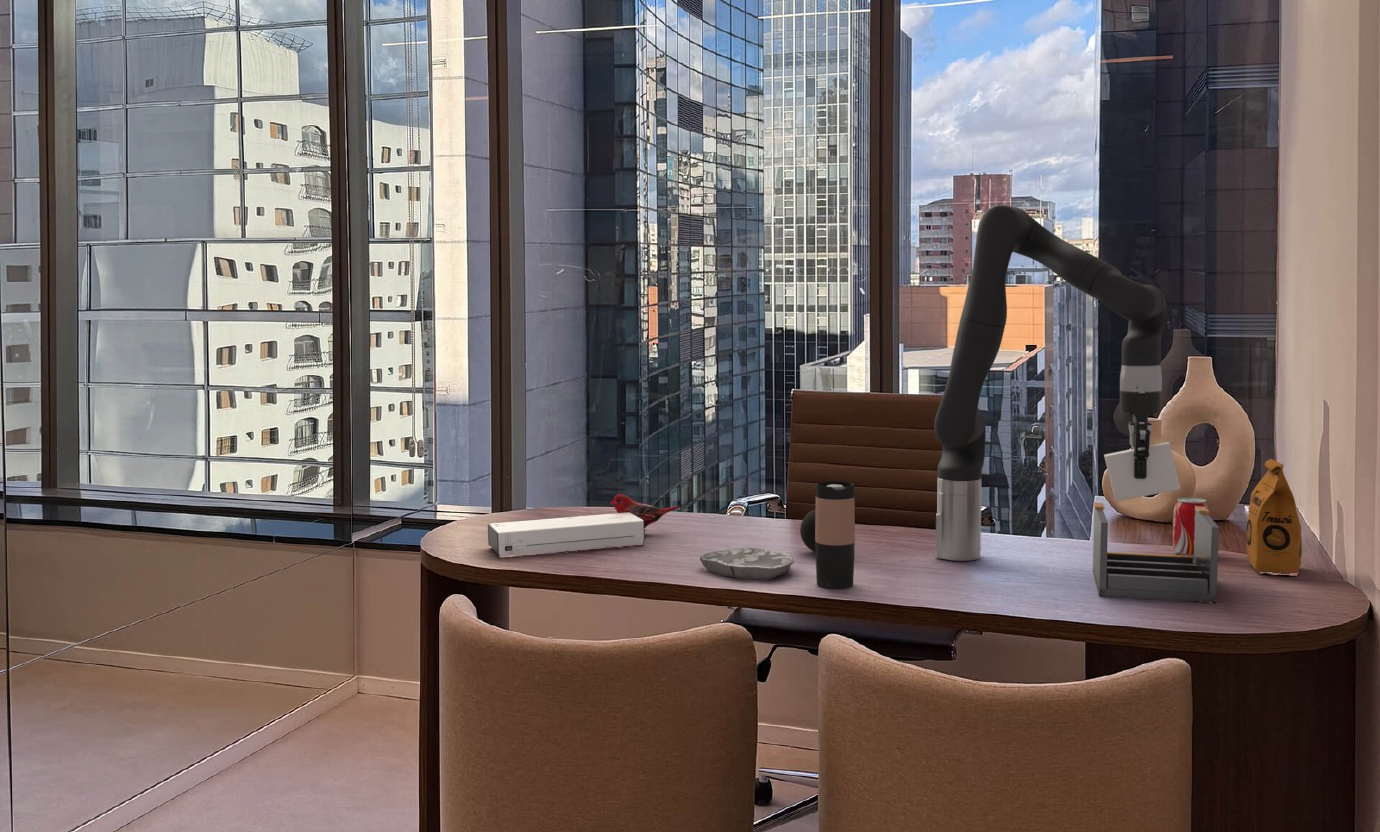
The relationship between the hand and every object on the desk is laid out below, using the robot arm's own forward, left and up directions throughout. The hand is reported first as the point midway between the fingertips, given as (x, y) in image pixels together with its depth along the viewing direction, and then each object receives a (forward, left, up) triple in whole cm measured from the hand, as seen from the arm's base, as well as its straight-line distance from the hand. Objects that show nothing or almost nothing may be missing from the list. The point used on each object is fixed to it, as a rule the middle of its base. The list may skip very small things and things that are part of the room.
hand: (1139, 476), depth 218 cm
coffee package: (+27, +16, -21) cm, 38 cm away
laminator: (-121, +2, -21) cm, 123 cm away
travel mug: (-57, -17, -21) cm, 63 cm away
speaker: (-64, +10, -21) cm, 68 cm away
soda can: (+13, +27, -21) cm, 36 cm away
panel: (+1, 0, -3) cm, 4 cm away
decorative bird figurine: (-109, +21, -21) cm, 113 cm away
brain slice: (-76, -9, -21) cm, 79 cm away
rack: (+2, -4, -21) cm, 21 cm away
